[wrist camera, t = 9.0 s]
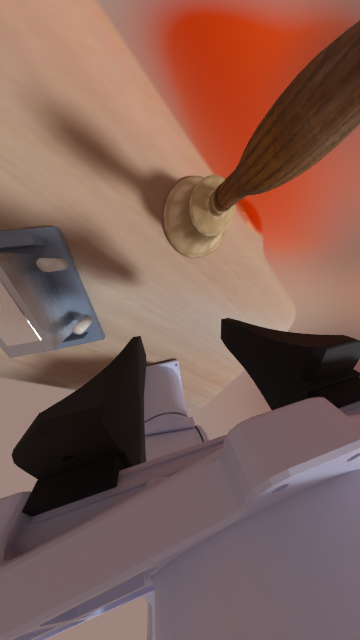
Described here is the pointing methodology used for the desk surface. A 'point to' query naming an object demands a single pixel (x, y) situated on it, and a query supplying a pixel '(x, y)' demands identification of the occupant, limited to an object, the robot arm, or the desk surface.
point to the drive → (30, 307)
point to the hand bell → (273, 147)
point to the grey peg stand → (58, 277)
